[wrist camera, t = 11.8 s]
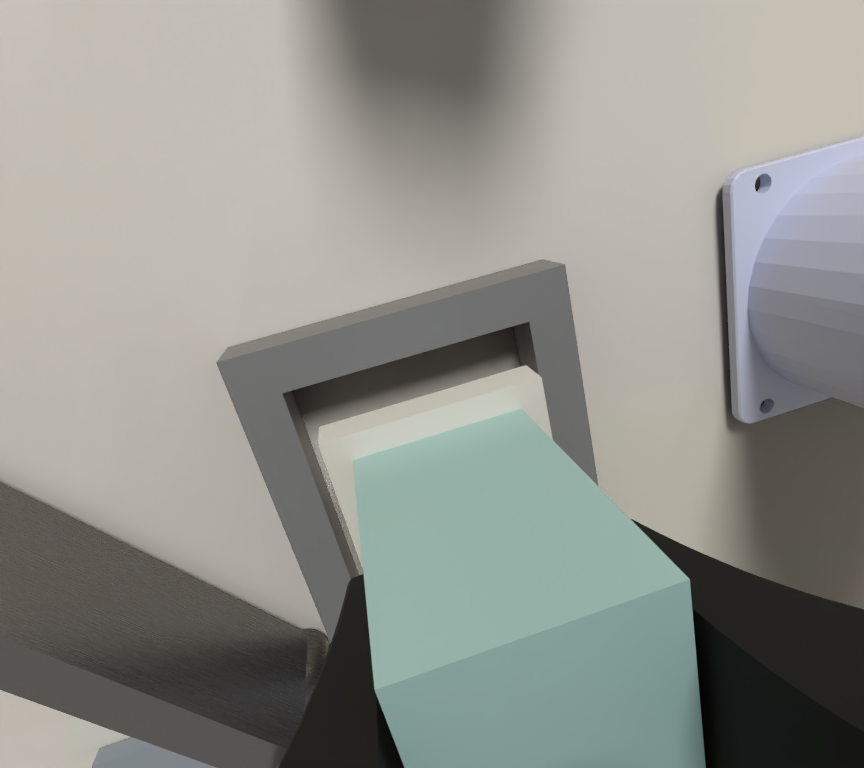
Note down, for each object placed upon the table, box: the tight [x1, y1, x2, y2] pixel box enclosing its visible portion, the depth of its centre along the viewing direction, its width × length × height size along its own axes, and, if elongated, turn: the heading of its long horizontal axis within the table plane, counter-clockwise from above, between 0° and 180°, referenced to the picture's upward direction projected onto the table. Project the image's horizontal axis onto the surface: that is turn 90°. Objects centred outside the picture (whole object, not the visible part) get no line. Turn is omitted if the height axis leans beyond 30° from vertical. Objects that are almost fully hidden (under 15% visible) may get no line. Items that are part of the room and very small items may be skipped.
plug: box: [318, 365, 706, 768], centre depth 10 cm, size 5×6×7 cm
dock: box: [216, 260, 598, 642], centre depth 15 cm, size 9×10×2 cm
